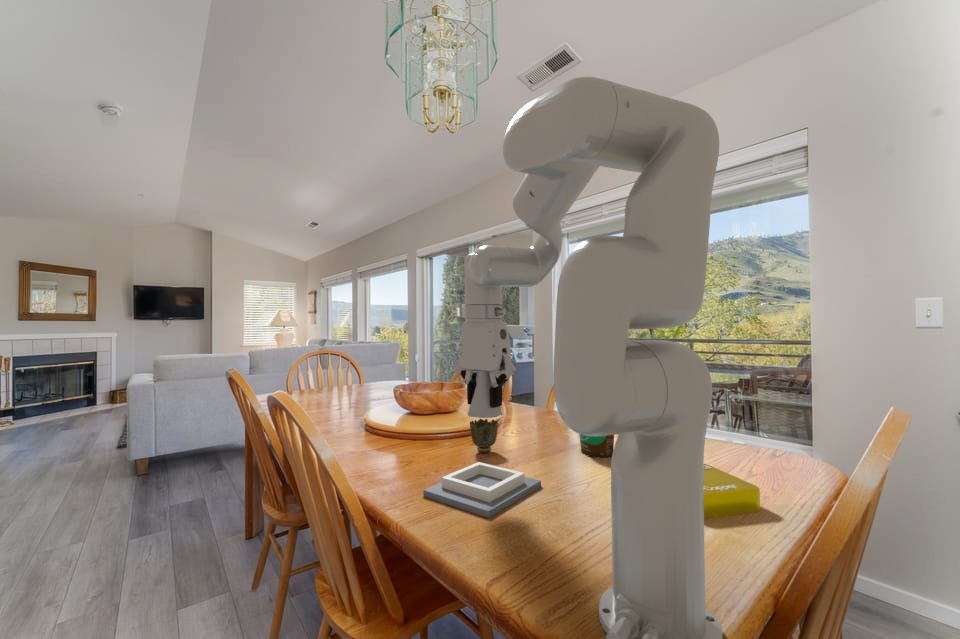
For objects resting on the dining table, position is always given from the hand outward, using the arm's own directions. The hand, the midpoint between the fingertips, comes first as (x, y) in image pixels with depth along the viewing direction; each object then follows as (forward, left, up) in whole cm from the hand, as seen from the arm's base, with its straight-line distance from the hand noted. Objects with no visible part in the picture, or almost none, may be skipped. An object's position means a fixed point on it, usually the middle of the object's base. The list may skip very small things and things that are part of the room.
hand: (484, 404), depth 87 cm
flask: (0, 0, -3) cm, 3 cm away
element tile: (+22, -35, -18) cm, 45 cm away
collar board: (0, 0, -18) cm, 18 cm away
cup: (+21, +16, -18) cm, 32 cm away
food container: (+36, -7, -18) cm, 41 cm away
